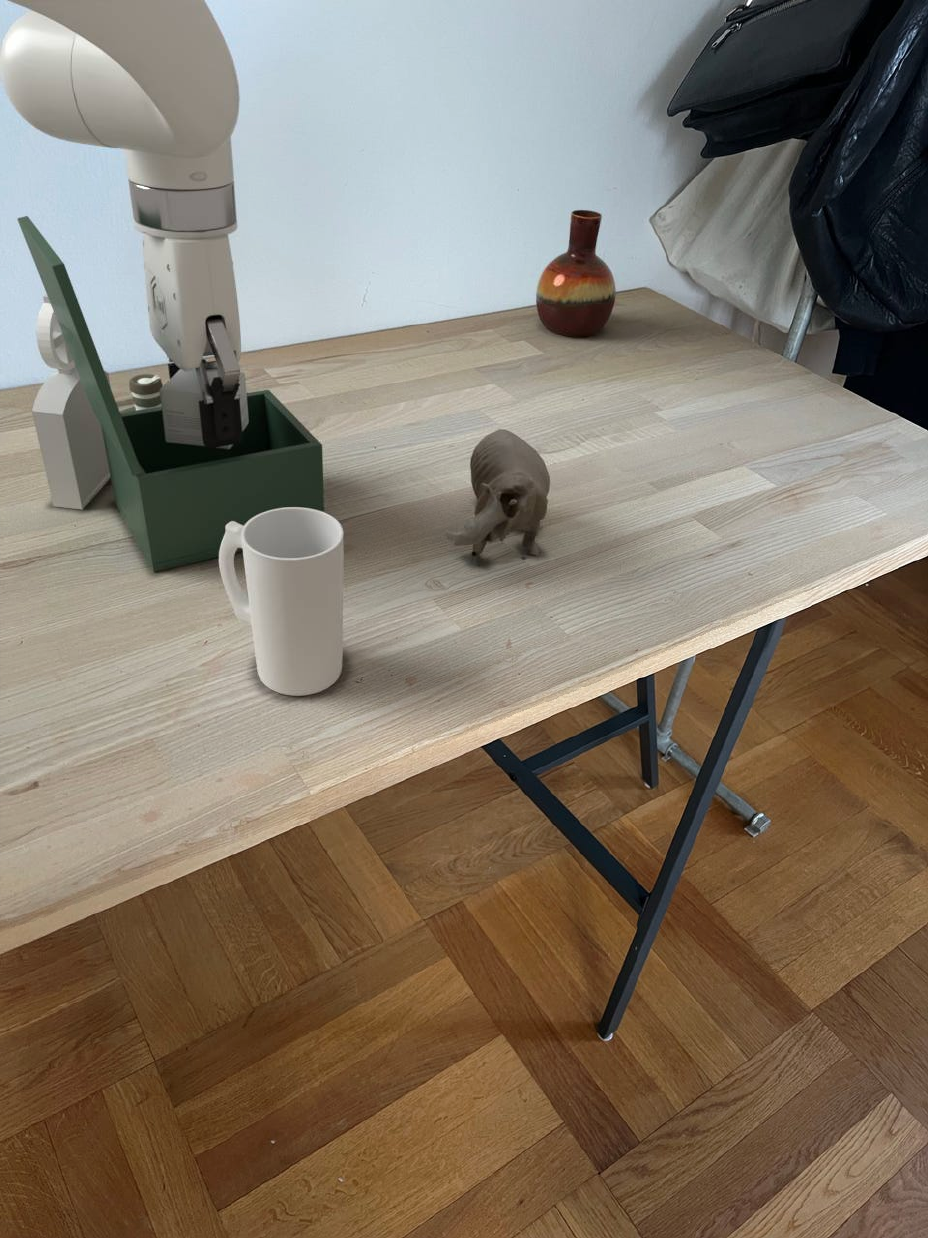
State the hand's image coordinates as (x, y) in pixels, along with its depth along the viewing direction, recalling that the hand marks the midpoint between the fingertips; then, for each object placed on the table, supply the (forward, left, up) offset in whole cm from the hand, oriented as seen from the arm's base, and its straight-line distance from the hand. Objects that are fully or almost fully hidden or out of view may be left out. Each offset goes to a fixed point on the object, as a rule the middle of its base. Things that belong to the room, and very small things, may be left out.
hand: (207, 423), depth 80 cm
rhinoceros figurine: (+21, -15, -10) cm, 28 cm away
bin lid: (-9, 0, +8) cm, 12 cm away
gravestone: (-9, +11, -10) cm, 17 cm away
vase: (+62, +30, -10) cm, 70 cm away
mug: (-2, -22, -10) cm, 24 cm away
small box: (0, 0, -1) cm, 1 cm away
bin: (0, 0, -10) cm, 10 cm away
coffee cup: (0, +22, -10) cm, 24 cm away
